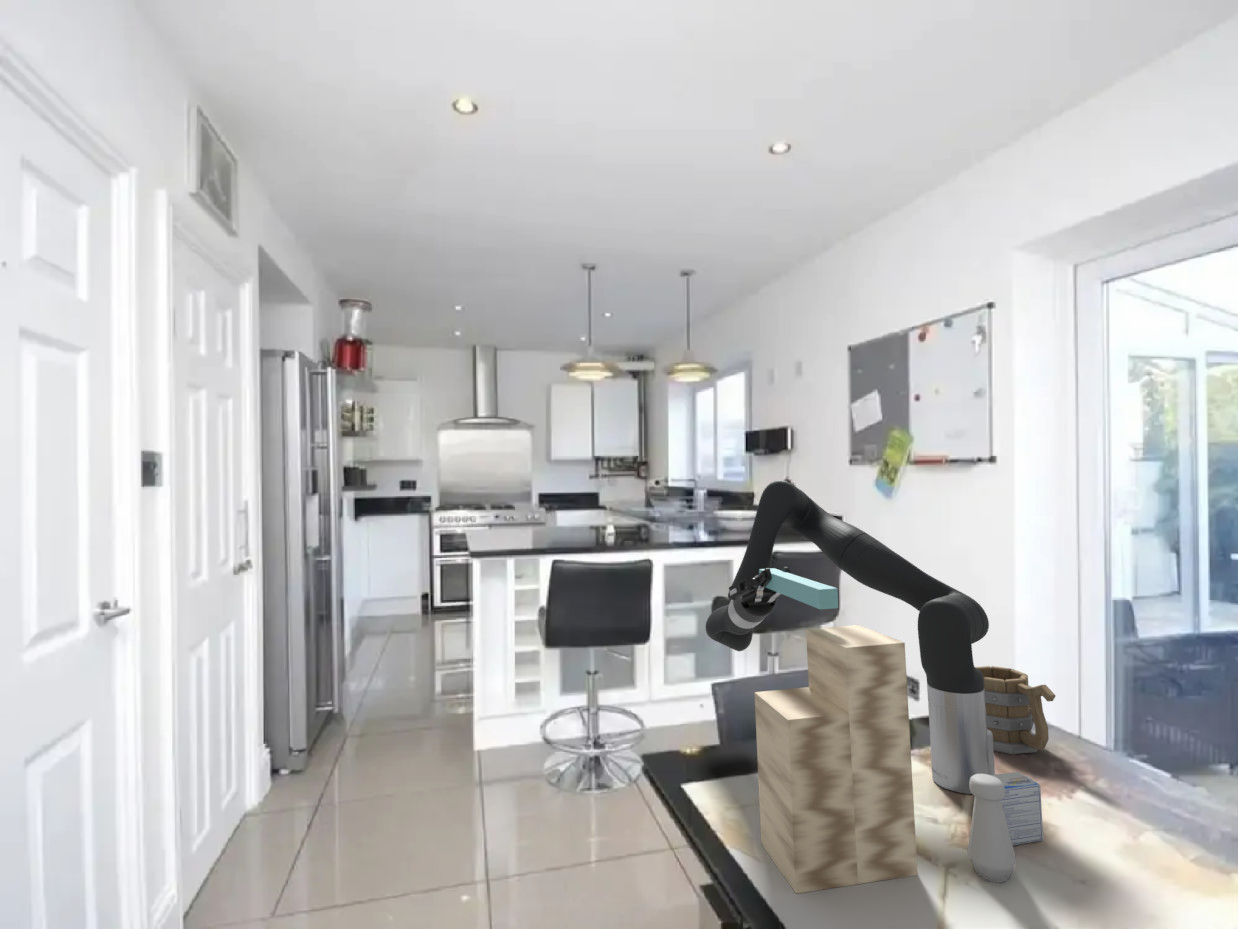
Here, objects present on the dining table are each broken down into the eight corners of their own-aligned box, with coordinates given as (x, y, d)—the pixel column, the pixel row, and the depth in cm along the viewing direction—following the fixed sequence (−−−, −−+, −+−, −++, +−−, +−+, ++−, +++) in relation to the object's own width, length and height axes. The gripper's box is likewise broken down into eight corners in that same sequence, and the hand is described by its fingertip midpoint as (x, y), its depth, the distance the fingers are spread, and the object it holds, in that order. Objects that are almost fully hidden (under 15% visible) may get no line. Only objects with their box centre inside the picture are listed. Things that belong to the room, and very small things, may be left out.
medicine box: (1020, 826, 98) (1017, 770, 98) (1044, 842, 94) (1041, 783, 94) (976, 833, 97) (972, 776, 97) (998, 849, 92) (994, 789, 93)
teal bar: (774, 584, 119) (774, 568, 119) (838, 608, 96) (837, 588, 96) (759, 585, 119) (759, 569, 119) (819, 609, 95) (819, 589, 95)
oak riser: (869, 829, 99) (858, 624, 100) (917, 874, 87) (904, 642, 88) (761, 844, 96) (751, 633, 97) (796, 893, 84) (784, 653, 85)
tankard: (953, 732, 135) (949, 661, 136) (1007, 727, 136) (1003, 658, 137) (1023, 773, 115) (1018, 691, 116) (1085, 767, 117) (1080, 686, 117)
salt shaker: (1024, 888, 83) (1018, 789, 84) (977, 885, 84) (971, 786, 85) (1006, 862, 89) (1000, 769, 89) (962, 859, 90) (957, 767, 91)
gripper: (714, 589, 129) (737, 555, 114) (778, 585, 131) (809, 551, 117) (721, 625, 125) (746, 594, 110) (787, 620, 127) (820, 589, 113)
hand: (778, 572), depth 114 cm, fingers closed on teal bar, 3 cm apart
